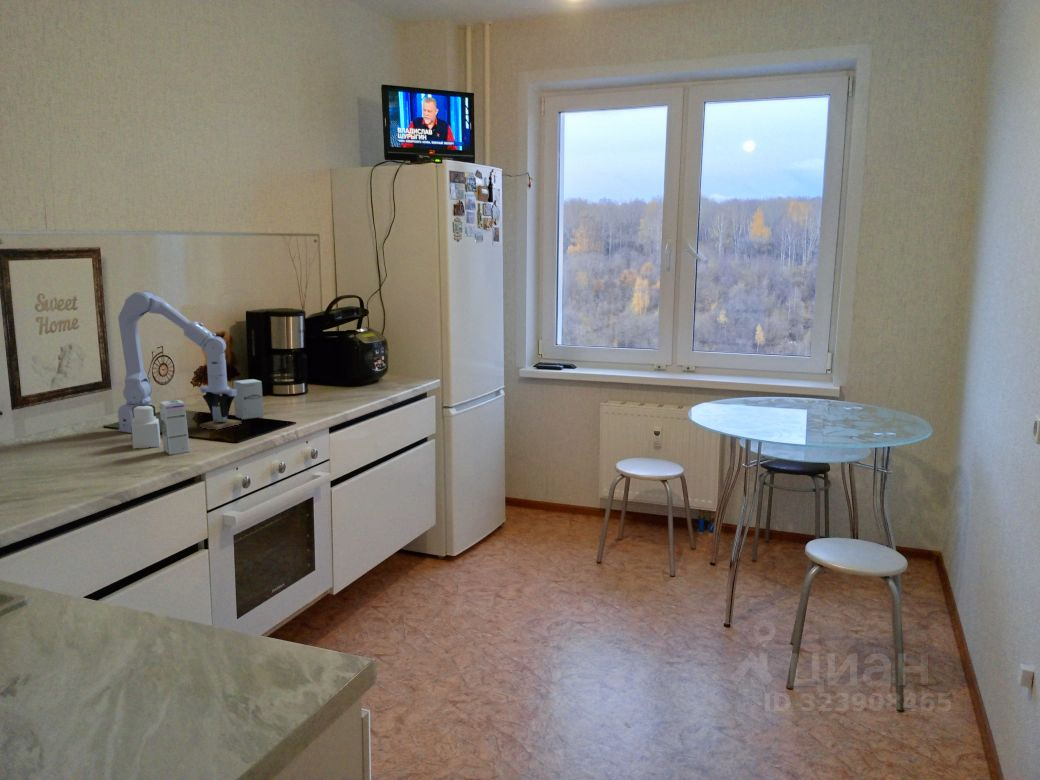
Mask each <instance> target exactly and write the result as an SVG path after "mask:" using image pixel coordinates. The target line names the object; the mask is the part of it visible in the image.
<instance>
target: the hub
mask: <svg viewBox="0 0 1040 780" xmlns="http://www.w3.org/2000/svg"><path fill="white" fill-rule="evenodd" d="M212 409H213V416H212V419H213V420H212V421H213V422H224V421H227V419H228V416H227V417H222V416H221V410H220V405H219V404H217V405H213V406H212Z"/></svg>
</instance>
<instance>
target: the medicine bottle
mask: <svg viewBox="0 0 1040 780" xmlns="http://www.w3.org/2000/svg"><path fill="white" fill-rule="evenodd" d="M132 413H133V421H132V424H131V433H130V434H131V444H132V449H133V450H136V449H135V448H139V449H148V448H149V447H151V448H159V447H160V446H161V432H160V428H159V426H160V421H159V418H157V415H156V414H157V413H156V407H155V405H153V404H152V405H150V404H144V405H137V406H135V407H133V408H132Z"/></svg>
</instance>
